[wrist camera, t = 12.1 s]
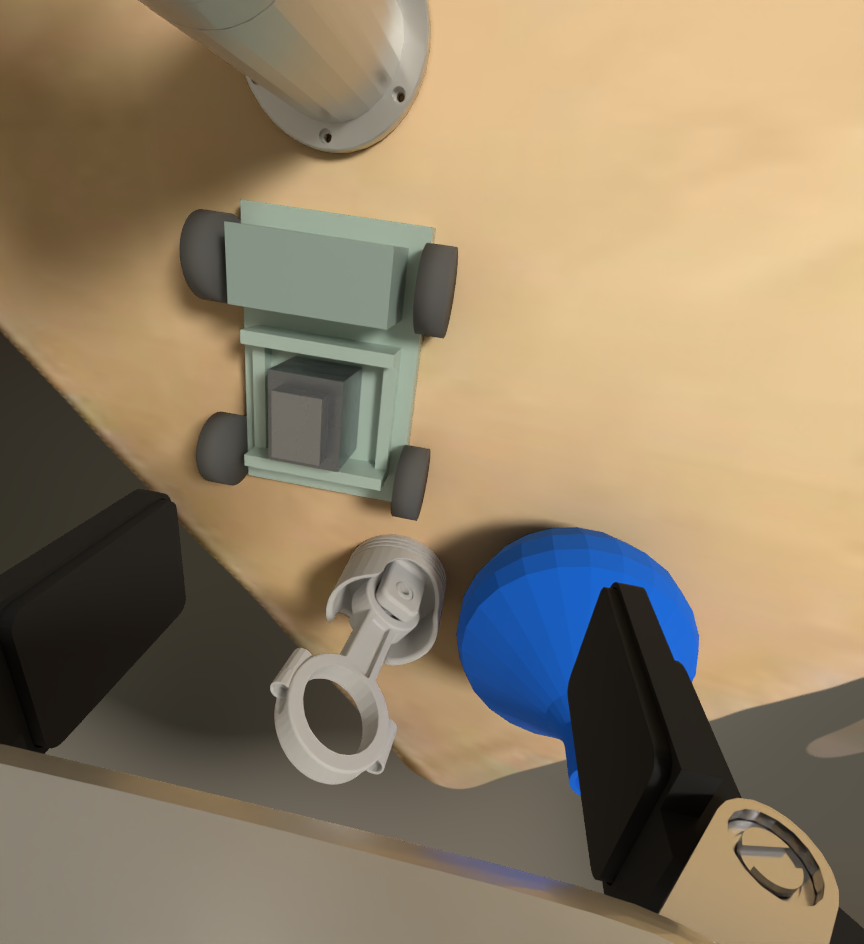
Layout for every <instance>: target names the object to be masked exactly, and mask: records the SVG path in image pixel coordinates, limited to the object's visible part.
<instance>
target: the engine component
mask: <svg viewBox="0 0 864 944" xmlns="http://www.w3.org/2000/svg"><path fill="white" fill-rule="evenodd" d="M445 590H446V574H445V570H444V567H443V565H442V563H441V561H440V560H439V558H438V557H437V556H436V554H435V553H434V552H433V551H432V550H431V549H430V548H428V547H427V546H425V545H424V544H422V543H421V542H419V541H417V540H415V539H412V538H409V537H406V536H402V535H394V534H389V535H380V536H376V537H372V538H370V539H368V540H366V541H364V542H363V543H362V544H360V545H359V546H358V547H357V548H356V549H355V551H354V552H353V553H352V555H351V557H350V559H349V561H348V563H347V565H346V566H345V568H344V570H343V572H342V574H341V576H340V578H339V580H338V582H337V584H336V586H335V588H334V589H333V591H332V593H331V595H330V597H329V600H328V603H327V607H326V617H327V621H328V622H331V621H332V620H333V619H334V618H335V616H336V614H337V613H343V614H345V615H347V616H348V617H350V625H351V627H352V629H353V631H352V633H351V635H350V637H349V639H348V640H347V642H346V644H345V646H344V648H343V649H342V651H341V653H340V654H335V653H323V654H318V655H315V656H313V657H312V654H311V653H310V652H309V651H308V650H306V649H303V648H297V649H296V650H295V651H294V652H293V653H292V654H291V656H290V657H289V659H288V660H287V662H286V663H285V665H284V666H283V668H282V669H281V671H280V672H279V674H278V675H277V677H276V678H275V680H274V681H273V682H272V684H271V686H270V690H271V692H272V694H273V695H274V696H276V697H277V700H276V705H275V726H276V731H277V736H278V739H279V741H280V744H281V746H282V748H283V750H284V752H285V754H286V755H287V757H288V759H289V760H290V761H291V763H292V764H293V765H294V766H295V767H296V768H297V769H298V770H299V771H300V772H302V773H303V774H304V775H306V776H307V777H309V778H311V779H313V780H315V781H318V782H321V783H324V784H340V783H344V782H347V781H350V780H352V779H354V778H355V777H356V776H358V775H359V774H360V773H362V772H363V771H365V770H367V771H368V772H370V773H372V774H380V773H382V772H383V770H384V767H385V764H386V761H387V758H388V755H389V752H390V749H391V746H392V743H393V740H394V737H395V734H396V731H397V725H396V724H395V722H394V721H392V720H390V719H389V717H388V710H387V706H386V702H385V699H384V697H383V694H382V692H381V690H380V688H379V686H378V684H377V683H376V678H377V676H378V674H379V671H380V669H381V667H382V664H383V662H384V663H385V664H388V665H401V664H406V663H409V662H412V661H415V660H417V659H419V658H420V657H422V656H423V655H425V654H426V653H427V652H428V651H429V650H430V649H431V647H432V646H433V644H434V643H435V640H436V637H437V634H438V628H439V623H440V618H441V612H442V607H443V601H444V596H445ZM316 678H324V679H328V680H331V681H334V682H336V683H337V684H339V685H341V686H342V687H343V688H344V689H345V690H347V691H348V693H349V694H350V695H351V696H352V698H353V699H354V701H355V702H356V704H357V706H358V709H359V711H360V714H361V718H362V724H363V735H362V736H363V737H362V742H361V745H360V748H359V750H358V752H357V754H354V755H342V754H338V753H336V752H333V751H331V750H329V749H328V748H326V747H325V746H324V745H323V744H321V743H320V742H319V741H318V739H317V738H316V737H315V736H314V734H313V733H312V731H311V729H310V728H309V726H308V723H307V720H306V718H305V714H304V709H303V695H304V689H305V686H306V683H307V681H308V680H311V679H316Z"/></svg>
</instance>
